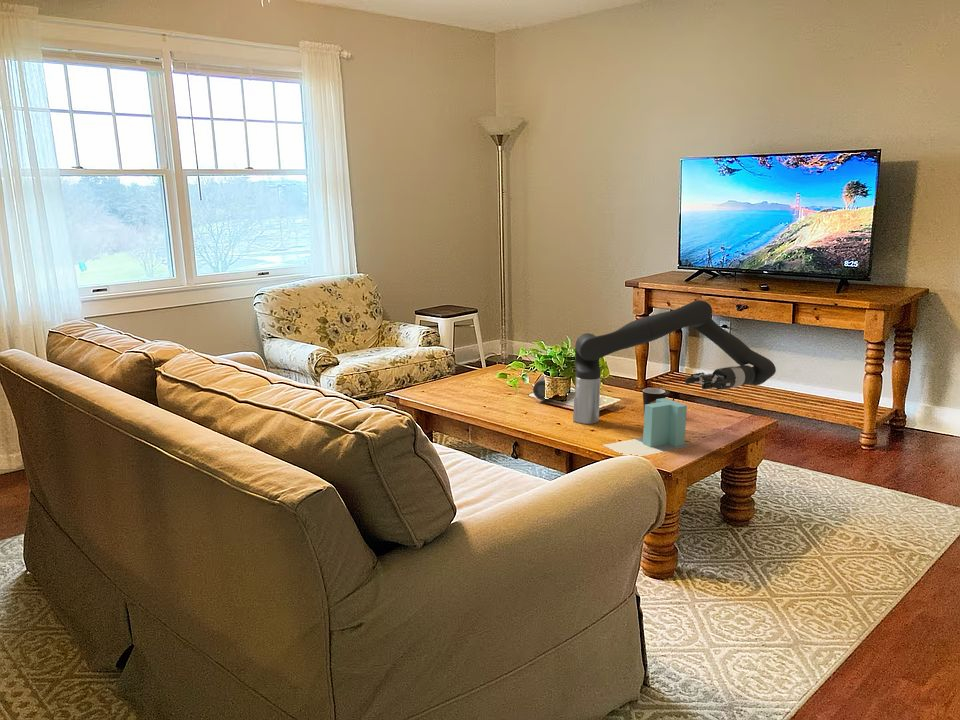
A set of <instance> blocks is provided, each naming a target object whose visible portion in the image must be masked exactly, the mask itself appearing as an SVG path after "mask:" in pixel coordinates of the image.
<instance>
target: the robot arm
mask: <svg viewBox="0 0 960 720" xmlns="http://www.w3.org/2000/svg"><path fill="white" fill-rule="evenodd" d="M712 315H713V308H712V306H711V304H710V303H709V302H707V301H705V300H699V299H698V300H693V301H692V302H689V303H687V304H685V305H682V306H680V307H678V308H676V309H672V310H669V311H664V312H660V313H656V314H652V315H648V316H644V317H642V318H638V319H636V320H633V321H632V320H631V321H630V322H628V323H626V324H625V325H623V326H621V327H619V328H618V329H616V330H615V331H613V332H609V333H605V334H601V335H595V334H593V333H589V332H588V333H587V332H586V333H583V334H581V335H580V336H579V337H578V338H576V339H577V340H576V341H575V347H574V368H575V391H574V393H575V394H574V398H573V414H572V415H573V418H572V419H573V422H575V423H578V424H587V425H590V424H591V425H593V424H597V423H598V422H599V420H600V418H599V417H600V400H601V399H600V398H601V397H600V395H601V371H602V370H601V367H600V359H601V358H602V359H603V358H604V357H606V356H608V355H611V354H614V353H615V352H618V351H621V350H626V349H629V348H634V347H636V346H640V345H643V344H646V343H650V342H653V341H656V340H658V339H661V338H663V337H664V336H667V335H669V334H671V333H673V332H675V331H677V330H680V329H683V328H688V327H691V328H693V329H694V330H695V331H697V332H698V333H700V334H702V335H703V336H704V337H706V338H707V339H709V340H710V341H712V342H713V344H715V345H716V346H717V347H718V348H720V350H722V351H723V352H724V353H725V354H727V356H728V357H730V358H731V359H732V360H733V361H734V362H735V363H736V364H737V366H727V367H720V368H716V369H714V371H713V372H711V373H708V374H705V372H702V371H701V372H697V373H691V374H690V376H687V377H685V384H686V385H690V384H700V385H701V389H702V390H708V389H715V390H718V391H719V390H720V391H721V390H726V389H732V388H737V387H740V386H746V385H749V386H760V385H761V384H764V383H765V382H766V381H768V380H769V379H770V378H772V377H773V376H774V375H775V374H776V373H777V372H776V371H777V370H776V369H777V368H776V366H775V364H774V363H773V361H772V360H770V359H769V358H767V357H765V356H764V355H762V354H760V353H758V352H756V351H754V350H752V349H751V348H750V347H749V346H748V345H746V343H745V342H743V341H742V340H741V339H739V338H738V337H737V336H736V335H734V334H732V333H731V332H729V331H727V330H725V329H724V328H722V327H721V326H720V325H718V324H717V323H716V322H715V320H713V319H712ZM750 365H751V366H750Z"/></svg>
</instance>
